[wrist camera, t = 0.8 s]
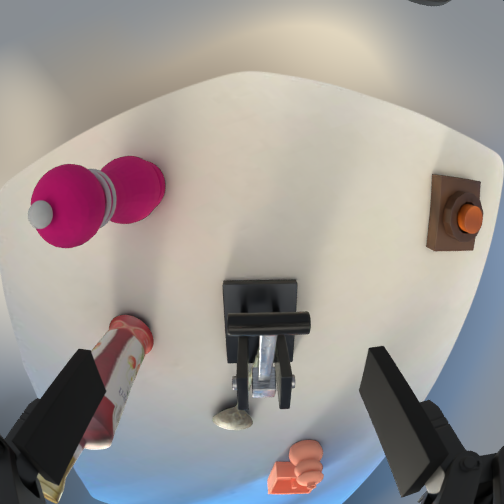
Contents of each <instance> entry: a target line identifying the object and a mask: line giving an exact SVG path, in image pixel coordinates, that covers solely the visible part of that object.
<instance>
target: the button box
mask: <svg viewBox="0 0 504 504" xmlns="http://www.w3.org/2000/svg"><path fill="white" fill-rule="evenodd" d="M480 184H481V182H480V181H474V180H469V179H463V178H456V177H450V176H443V175H435V174H432V193H431V207H430V219H429V228H428V237H427V245H426V247H428V248H430V249H431V250H433V251H470V250H473V249H474V243H475V237H476V236H477V234H478V232H479V230H480V229H479V230H478V232H476V233H474V234H470V233H468V232H465V231H463V230H461V229H460V227H459V226H458V222H457V215H458V212H459V210H460V208H461V207H462V206H463V205H465V204H470V205H474V206H477V207H479V208H480V210H481V212H482V216H483V210H482V206H481V202H480ZM481 226H482V225H481ZM480 228H481V227H480Z"/></svg>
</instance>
